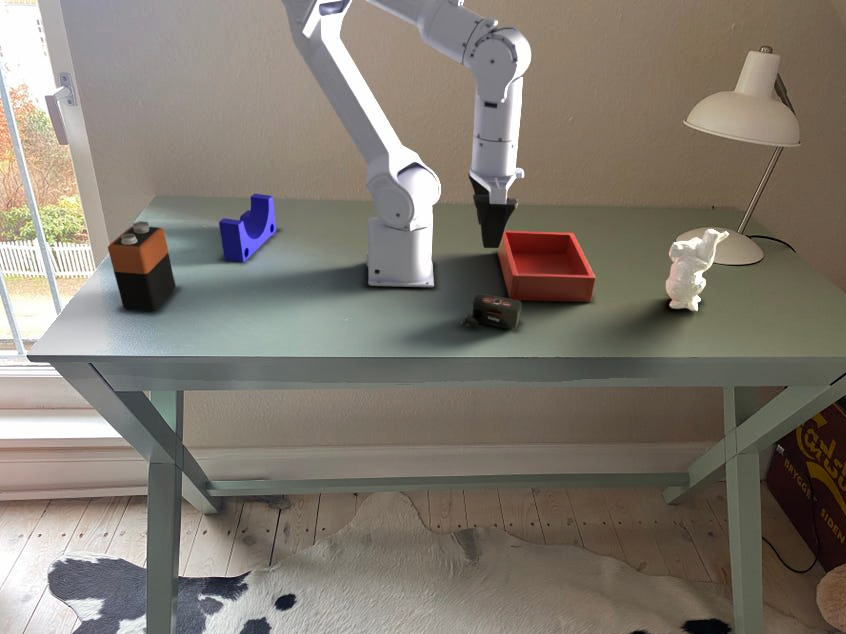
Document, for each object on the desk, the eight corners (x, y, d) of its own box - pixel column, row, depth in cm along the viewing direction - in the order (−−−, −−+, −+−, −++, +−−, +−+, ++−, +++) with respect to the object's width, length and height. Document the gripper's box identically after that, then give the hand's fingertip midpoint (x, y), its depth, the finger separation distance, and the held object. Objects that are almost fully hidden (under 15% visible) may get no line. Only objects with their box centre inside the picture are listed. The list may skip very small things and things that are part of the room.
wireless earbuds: (469, 311, 92) (471, 291, 90) (519, 321, 91) (522, 301, 89) (460, 328, 89) (462, 307, 87) (512, 338, 87) (515, 317, 86)
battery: (177, 288, 91) (163, 220, 85) (156, 313, 86) (139, 242, 80) (145, 285, 91) (129, 217, 85) (122, 310, 85) (103, 239, 80)
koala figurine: (699, 294, 102) (721, 221, 96) (717, 316, 97) (742, 241, 90) (647, 293, 101) (665, 220, 94) (662, 316, 96) (683, 240, 89)
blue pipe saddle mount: (249, 227, 109) (245, 192, 106) (276, 230, 109) (272, 195, 105) (215, 258, 99) (208, 220, 96) (243, 262, 99) (238, 224, 96)
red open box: (509, 300, 96) (512, 275, 94) (497, 252, 109) (500, 230, 106) (590, 302, 97) (595, 277, 95) (569, 255, 110) (573, 232, 108)
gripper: (535, 154, 78) (524, 258, 86) (519, 121, 90) (510, 215, 98) (476, 152, 77) (470, 257, 85) (467, 119, 89) (463, 214, 97)
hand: (488, 235), depth 91 cm, fingers open, 7 cm apart
